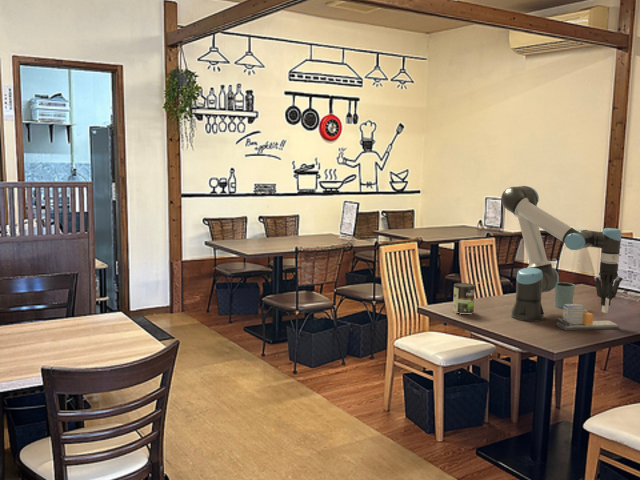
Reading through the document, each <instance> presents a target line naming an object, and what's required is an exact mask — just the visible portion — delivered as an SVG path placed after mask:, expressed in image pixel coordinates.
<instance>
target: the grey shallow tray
mask: <svg viewBox="0 0 640 480" xmlns="http://www.w3.org/2000/svg"><path fill="white" fill-rule="evenodd" d="M555 322H556V323H555V326H556V325H557V326H556V327H558V328H560V329H562V330H563V329H564V331H575V330H577V331H579V330H587V331H588V330H619V329H620V326H619V325H618V324H617V323H616V322H612V321H611V320H593V325H585V324H571V325H570V323H569V322H567V321H565V320H563V318H561V317H556V318H555Z"/></svg>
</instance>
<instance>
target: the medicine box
mask: <svg viewBox="0 0 640 480" xmlns="http://www.w3.org/2000/svg"><path fill="white" fill-rule="evenodd" d="M584 309H585V306H584V305H583V304H581V303H573V304H564V305H563V308H562V319H563V320H565V321H567V322H569V323H570V325H571V324H583V318H584Z"/></svg>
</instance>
